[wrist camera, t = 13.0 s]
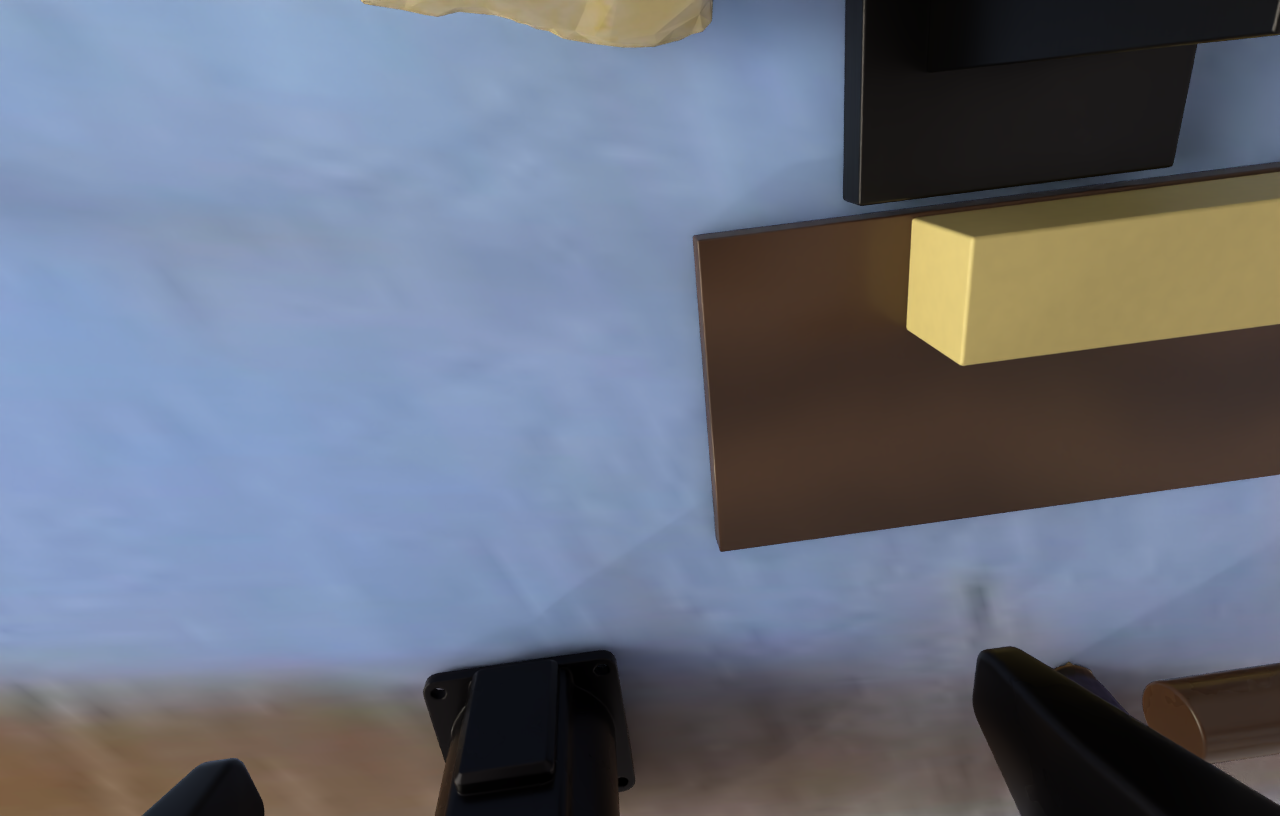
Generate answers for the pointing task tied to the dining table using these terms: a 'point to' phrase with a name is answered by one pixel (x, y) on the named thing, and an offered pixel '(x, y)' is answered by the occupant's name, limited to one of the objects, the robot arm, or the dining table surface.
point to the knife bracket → (1020, 89)
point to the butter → (1097, 270)
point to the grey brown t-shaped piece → (1219, 712)
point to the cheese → (584, 17)
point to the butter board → (944, 392)
